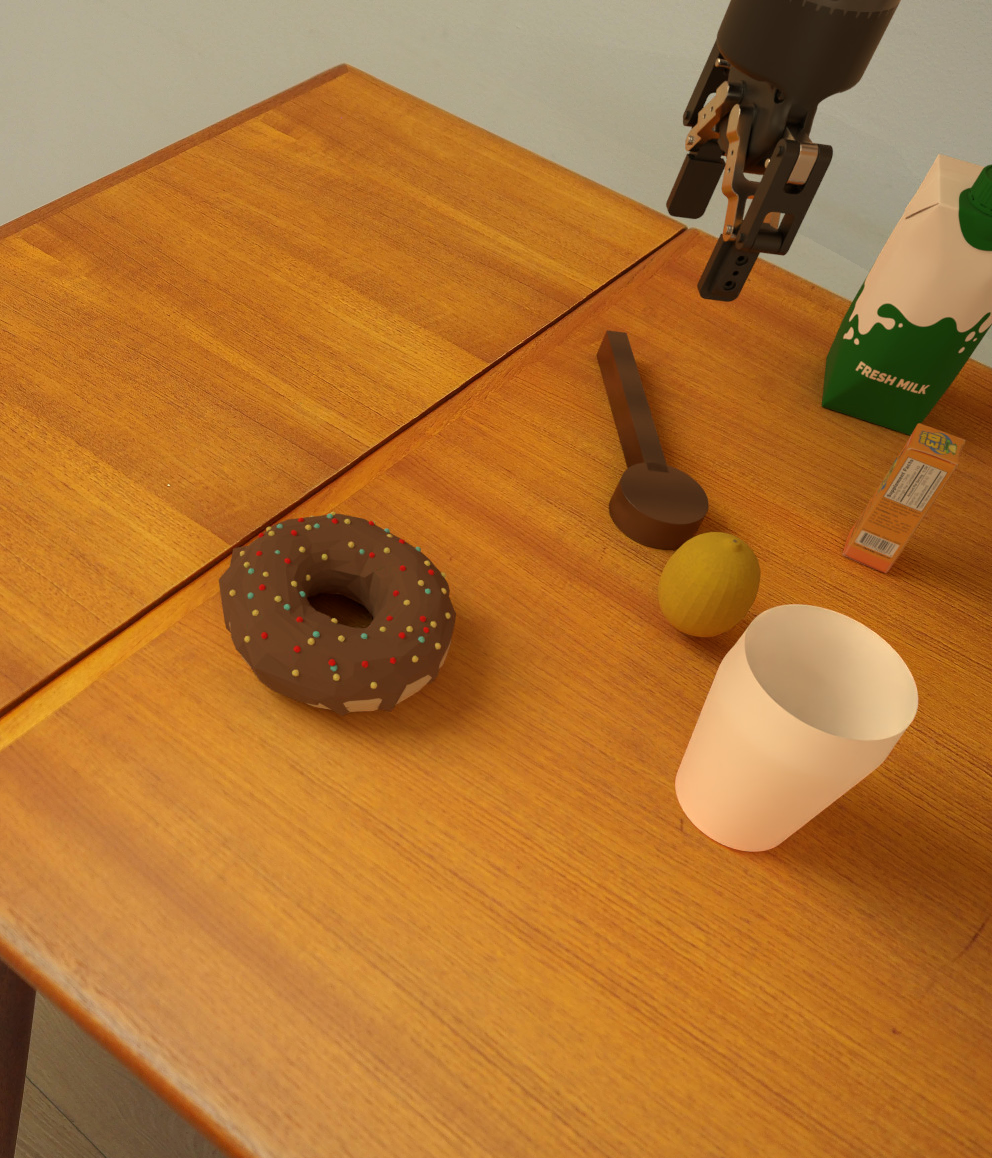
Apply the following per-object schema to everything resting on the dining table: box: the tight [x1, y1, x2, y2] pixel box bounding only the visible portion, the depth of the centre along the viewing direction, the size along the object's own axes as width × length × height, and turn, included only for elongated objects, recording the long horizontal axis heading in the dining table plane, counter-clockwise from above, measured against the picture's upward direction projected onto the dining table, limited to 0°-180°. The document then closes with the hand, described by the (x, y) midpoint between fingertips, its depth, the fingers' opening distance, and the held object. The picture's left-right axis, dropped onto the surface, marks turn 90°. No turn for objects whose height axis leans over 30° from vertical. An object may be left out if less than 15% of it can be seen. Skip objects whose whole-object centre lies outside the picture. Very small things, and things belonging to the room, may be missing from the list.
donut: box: [218, 511, 457, 717], centre depth 77 cm, size 14×14×5 cm
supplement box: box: [841, 423, 966, 574], centre depth 87 cm, size 3×3×10 cm
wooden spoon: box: [596, 330, 710, 550], centre depth 94 cm, size 21×6×2 cm, turn 178°
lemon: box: [657, 531, 762, 638], centre depth 80 cm, size 6×6×8 cm
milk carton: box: [821, 153, 992, 436], centre depth 96 cm, size 9×9×20 cm
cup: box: [674, 603, 919, 853], centre depth 70 cm, size 9×9×12 cm
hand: (697, 254), depth 76 cm, fingers open, 8 cm apart
